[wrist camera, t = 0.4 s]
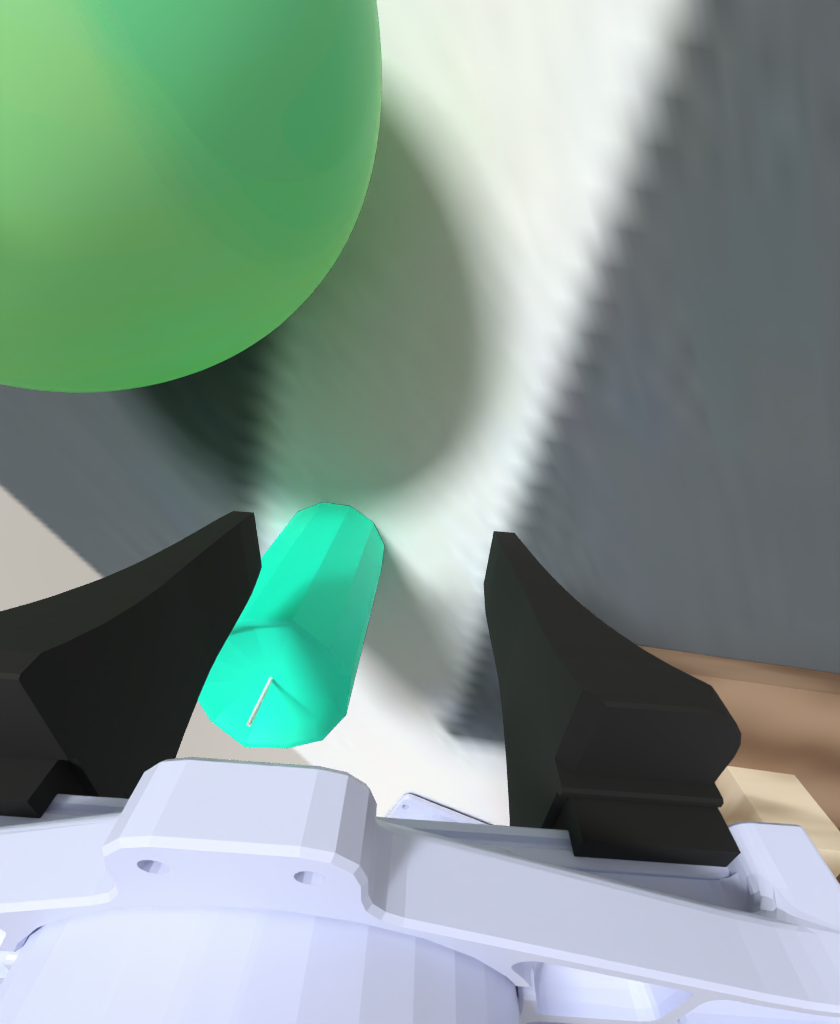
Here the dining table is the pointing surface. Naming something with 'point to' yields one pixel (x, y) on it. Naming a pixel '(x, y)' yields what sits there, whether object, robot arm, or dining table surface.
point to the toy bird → (173, 178)
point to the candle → (299, 632)
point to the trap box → (778, 718)
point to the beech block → (778, 807)
